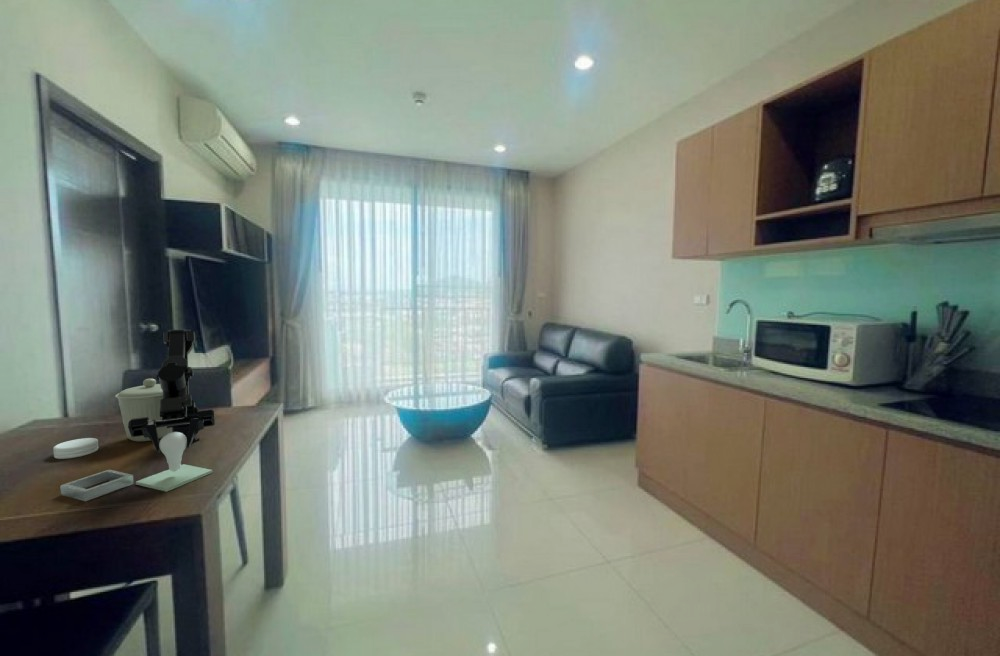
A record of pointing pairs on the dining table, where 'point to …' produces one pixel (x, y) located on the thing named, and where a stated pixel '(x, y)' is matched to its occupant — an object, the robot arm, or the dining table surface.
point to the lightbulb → (173, 449)
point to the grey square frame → (78, 486)
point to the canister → (142, 406)
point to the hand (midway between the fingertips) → (173, 449)
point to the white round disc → (75, 448)
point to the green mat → (174, 478)
